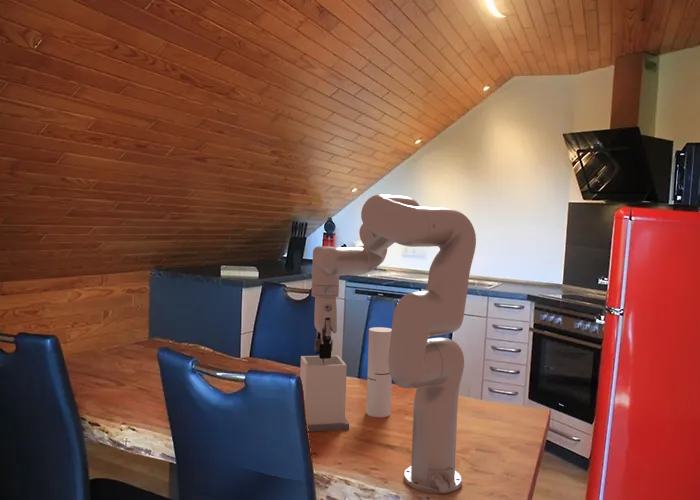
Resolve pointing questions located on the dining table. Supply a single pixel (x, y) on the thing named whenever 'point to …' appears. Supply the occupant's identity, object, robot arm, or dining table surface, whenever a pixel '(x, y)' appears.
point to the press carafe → (324, 392)
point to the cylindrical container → (378, 373)
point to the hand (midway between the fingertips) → (323, 355)
